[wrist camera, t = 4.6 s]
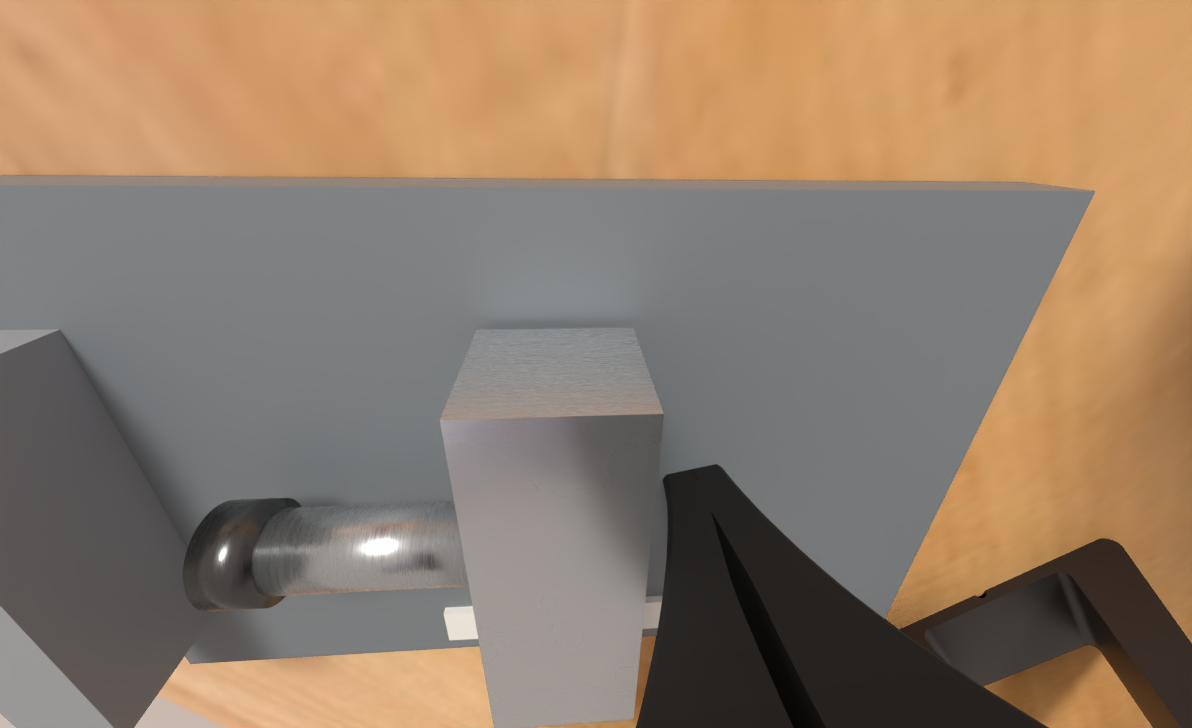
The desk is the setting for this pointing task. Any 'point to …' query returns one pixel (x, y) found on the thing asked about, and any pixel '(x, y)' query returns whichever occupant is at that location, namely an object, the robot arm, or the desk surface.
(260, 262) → the frame
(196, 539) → the gauge plunger
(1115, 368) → the desk surface
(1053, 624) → the phone stand
